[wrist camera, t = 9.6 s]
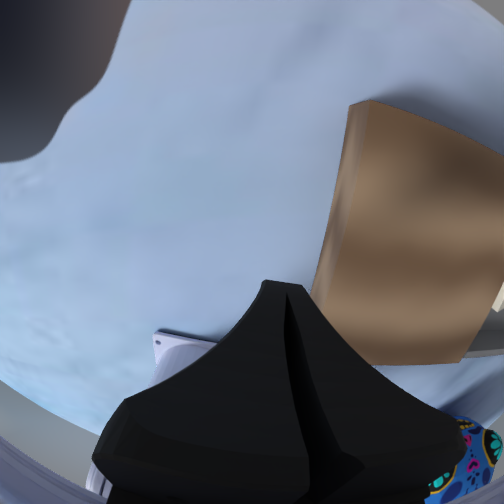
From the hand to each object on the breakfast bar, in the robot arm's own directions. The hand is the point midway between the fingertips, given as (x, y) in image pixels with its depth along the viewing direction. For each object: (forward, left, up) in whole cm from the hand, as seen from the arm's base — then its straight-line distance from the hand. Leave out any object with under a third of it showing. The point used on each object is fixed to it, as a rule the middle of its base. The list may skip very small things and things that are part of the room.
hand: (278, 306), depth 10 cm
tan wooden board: (0, -10, -9) cm, 14 cm away
